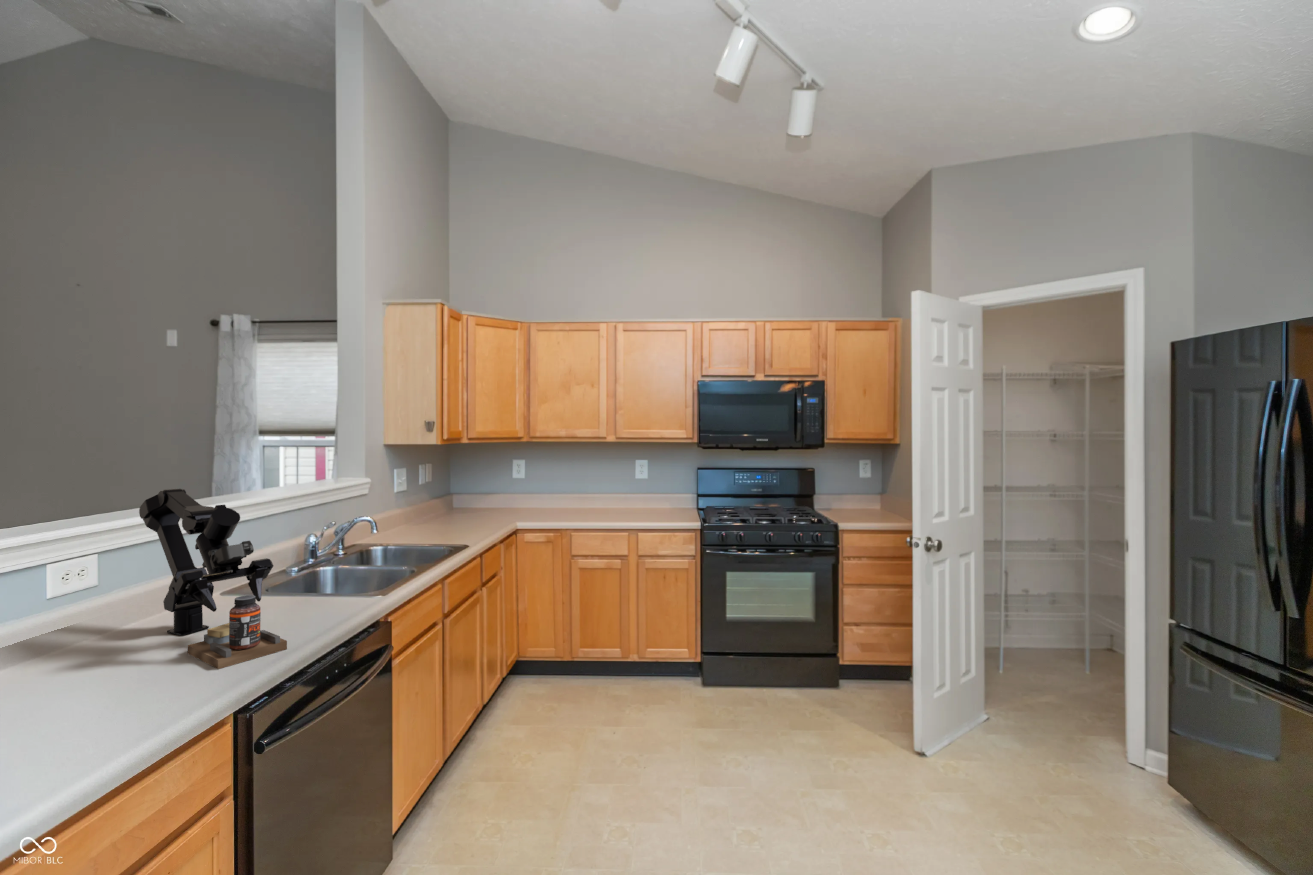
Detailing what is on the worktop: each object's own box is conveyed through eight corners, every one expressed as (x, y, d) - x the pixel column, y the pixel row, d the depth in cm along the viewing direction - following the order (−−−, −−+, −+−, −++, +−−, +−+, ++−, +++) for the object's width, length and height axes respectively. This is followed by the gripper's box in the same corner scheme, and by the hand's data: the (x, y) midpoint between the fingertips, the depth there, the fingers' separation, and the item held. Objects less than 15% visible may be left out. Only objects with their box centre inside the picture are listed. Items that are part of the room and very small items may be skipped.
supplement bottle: (253, 650, 134) (253, 600, 134) (223, 651, 133) (223, 601, 133) (265, 640, 140) (265, 593, 140) (237, 642, 139) (236, 594, 139)
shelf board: (187, 653, 137) (187, 632, 137) (254, 635, 149) (254, 616, 149) (218, 669, 128) (218, 646, 128) (286, 649, 140) (286, 628, 140)
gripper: (179, 537, 133) (201, 594, 127) (269, 525, 148) (292, 576, 143) (165, 567, 137) (185, 624, 131) (254, 553, 153) (276, 603, 147)
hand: (238, 605), depth 138 cm, fingers open, 9 cm apart
